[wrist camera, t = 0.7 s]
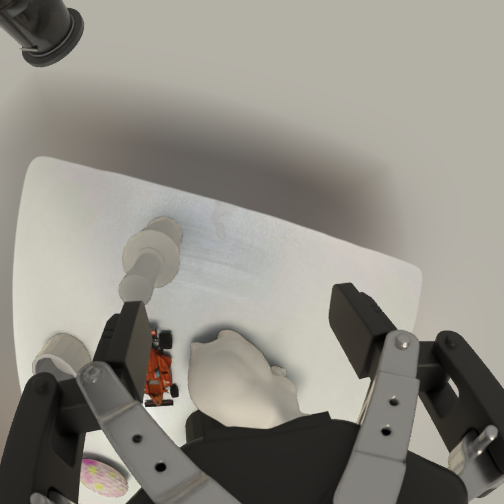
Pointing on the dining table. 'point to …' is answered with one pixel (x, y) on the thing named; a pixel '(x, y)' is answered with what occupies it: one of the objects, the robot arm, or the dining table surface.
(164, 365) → the toy car
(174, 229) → the bottle
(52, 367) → the stand
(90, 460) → the decorative item
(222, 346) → the rabbit
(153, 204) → the dining table surface
